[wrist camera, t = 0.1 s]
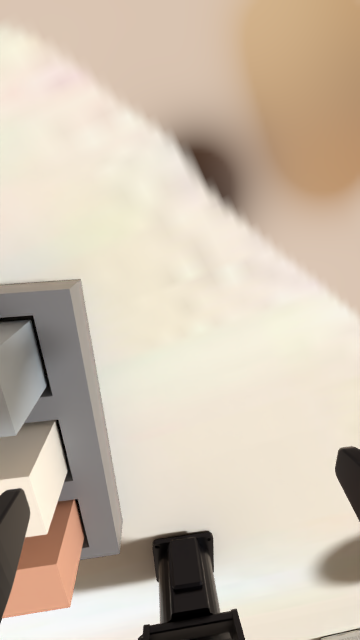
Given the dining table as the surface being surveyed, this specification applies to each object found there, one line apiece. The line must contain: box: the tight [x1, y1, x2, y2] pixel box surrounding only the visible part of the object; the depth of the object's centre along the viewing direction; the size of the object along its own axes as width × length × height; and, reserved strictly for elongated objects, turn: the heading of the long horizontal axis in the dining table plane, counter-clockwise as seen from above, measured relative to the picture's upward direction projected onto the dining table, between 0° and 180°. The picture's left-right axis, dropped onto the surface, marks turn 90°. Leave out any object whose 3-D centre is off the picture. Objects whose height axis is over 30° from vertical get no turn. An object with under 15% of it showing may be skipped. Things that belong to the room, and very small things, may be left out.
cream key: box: [0, 420, 68, 537], centre depth 19 cm, size 5×5×5 cm
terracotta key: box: [2, 499, 84, 618], centre depth 22 cm, size 5×5×5 cm
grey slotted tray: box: [0, 279, 123, 560], centre depth 22 cm, size 25×11×3 cm, turn 3°
